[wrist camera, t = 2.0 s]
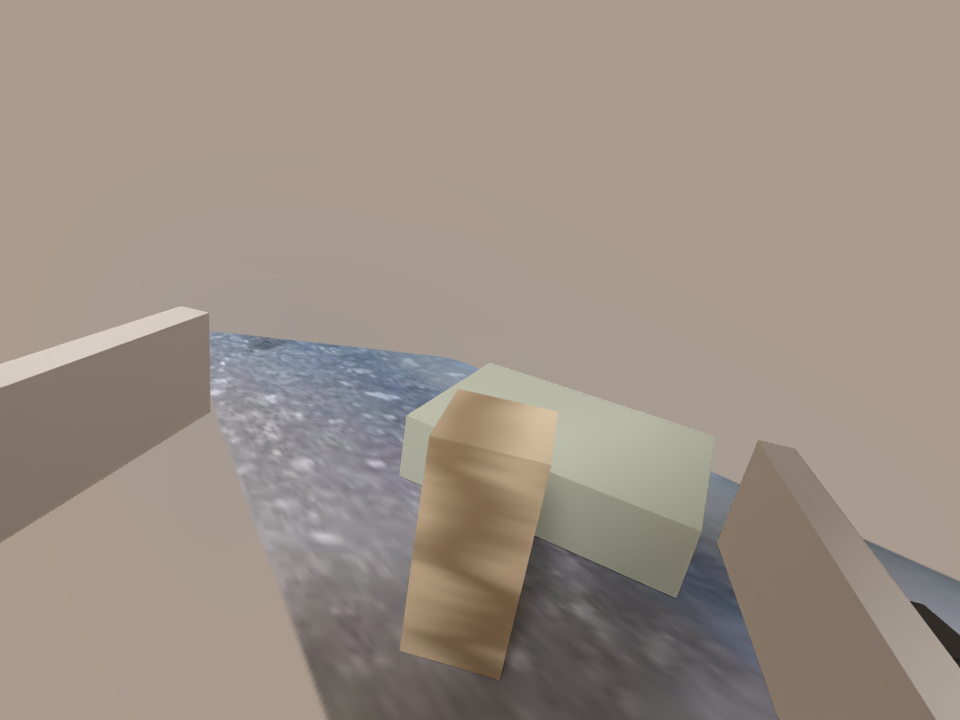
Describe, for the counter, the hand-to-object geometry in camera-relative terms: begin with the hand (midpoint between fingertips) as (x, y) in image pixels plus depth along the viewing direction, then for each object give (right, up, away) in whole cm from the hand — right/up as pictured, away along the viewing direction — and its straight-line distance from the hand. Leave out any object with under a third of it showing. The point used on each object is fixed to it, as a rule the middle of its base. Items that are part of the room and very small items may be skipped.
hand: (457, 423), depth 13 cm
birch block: (0, -12, +15) cm, 20 cm away
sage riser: (+7, -8, +29) cm, 31 cm away
